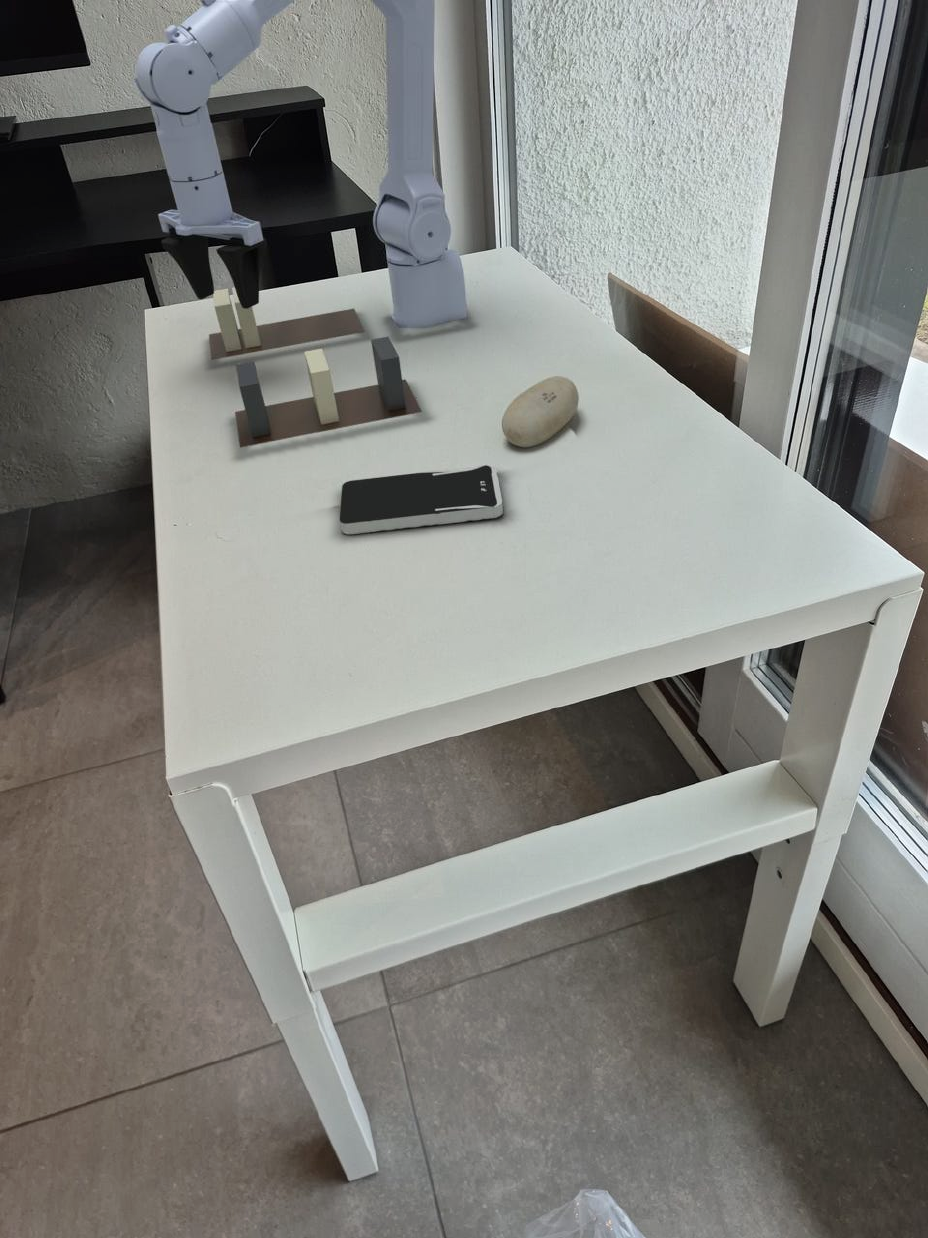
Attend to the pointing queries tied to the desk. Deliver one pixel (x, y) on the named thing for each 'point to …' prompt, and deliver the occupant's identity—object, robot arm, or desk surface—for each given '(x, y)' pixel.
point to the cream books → (229, 321)
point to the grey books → (385, 372)
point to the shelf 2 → (305, 418)
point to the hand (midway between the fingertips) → (228, 300)
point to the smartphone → (420, 499)
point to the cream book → (321, 386)
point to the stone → (540, 411)
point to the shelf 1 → (293, 332)
